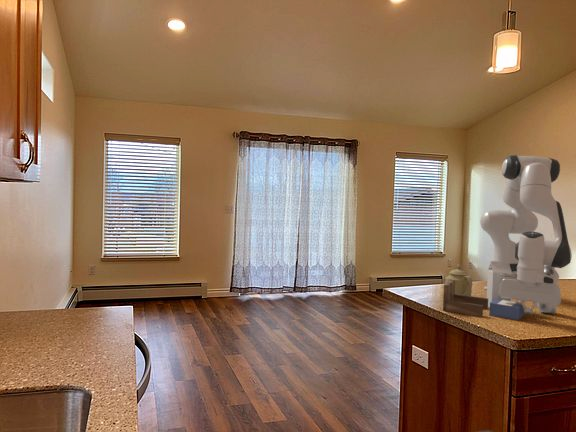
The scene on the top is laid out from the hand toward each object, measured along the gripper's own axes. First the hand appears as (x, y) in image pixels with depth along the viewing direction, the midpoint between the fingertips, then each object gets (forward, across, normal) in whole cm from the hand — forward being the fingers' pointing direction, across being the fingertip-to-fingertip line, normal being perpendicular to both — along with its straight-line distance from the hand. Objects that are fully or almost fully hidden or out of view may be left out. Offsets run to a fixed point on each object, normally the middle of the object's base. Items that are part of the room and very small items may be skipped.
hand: (528, 312), depth 164 cm
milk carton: (+2, -11, +11) cm, 16 cm away
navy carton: (+2, -7, 0) cm, 8 cm away
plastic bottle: (+2, +6, +14) cm, 15 cm away
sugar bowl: (+2, -27, +22) cm, 35 cm away
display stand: (+2, -21, 0) cm, 21 cm away
